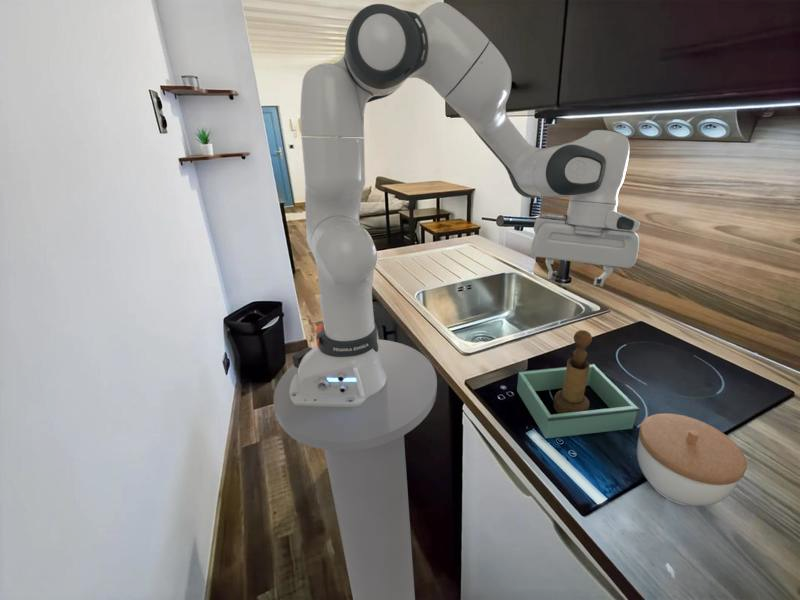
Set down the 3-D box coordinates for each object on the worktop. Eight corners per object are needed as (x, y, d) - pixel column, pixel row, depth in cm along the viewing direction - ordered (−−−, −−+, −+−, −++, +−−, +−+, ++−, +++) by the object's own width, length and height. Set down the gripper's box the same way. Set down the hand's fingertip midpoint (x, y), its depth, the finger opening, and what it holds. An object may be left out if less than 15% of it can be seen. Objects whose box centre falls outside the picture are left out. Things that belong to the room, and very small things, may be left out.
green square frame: (545, 439, 67) (548, 418, 65) (515, 390, 80) (517, 371, 78) (633, 429, 68) (639, 408, 66) (590, 382, 81) (594, 363, 79)
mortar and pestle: (581, 424, 70) (597, 345, 63) (547, 410, 74) (559, 333, 67) (592, 406, 75) (608, 329, 67) (560, 393, 79) (572, 320, 71)
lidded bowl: (642, 441, 66) (657, 392, 61) (733, 484, 57) (758, 431, 52) (616, 485, 58) (631, 433, 54) (716, 542, 50) (744, 486, 45)
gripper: (538, 212, 74) (525, 278, 78) (649, 223, 70) (630, 293, 73) (535, 212, 80) (523, 273, 84) (637, 222, 75) (620, 286, 79)
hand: (574, 282), depth 79 cm, fingers open, 8 cm apart
